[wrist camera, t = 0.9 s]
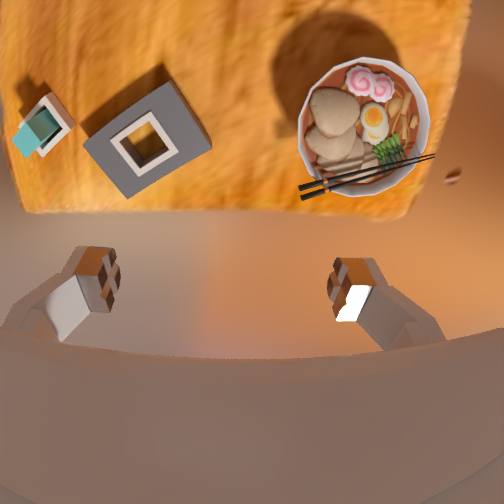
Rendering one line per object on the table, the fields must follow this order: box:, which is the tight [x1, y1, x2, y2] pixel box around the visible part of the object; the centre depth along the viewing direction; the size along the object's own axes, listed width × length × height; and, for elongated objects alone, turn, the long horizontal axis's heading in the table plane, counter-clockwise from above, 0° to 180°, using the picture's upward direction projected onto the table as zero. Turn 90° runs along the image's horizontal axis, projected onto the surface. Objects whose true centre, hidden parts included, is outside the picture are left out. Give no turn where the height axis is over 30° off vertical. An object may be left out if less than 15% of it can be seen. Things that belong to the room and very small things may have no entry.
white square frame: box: [18, 92, 77, 158], centre depth 32 cm, size 8×8×2 cm
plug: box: [12, 109, 61, 158], centre depth 30 cm, size 4×4×8 cm
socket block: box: [83, 79, 212, 199], centre depth 38 cm, size 12×16×3 cm
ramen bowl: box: [298, 56, 435, 201], centre depth 38 cm, size 25×23×8 cm
